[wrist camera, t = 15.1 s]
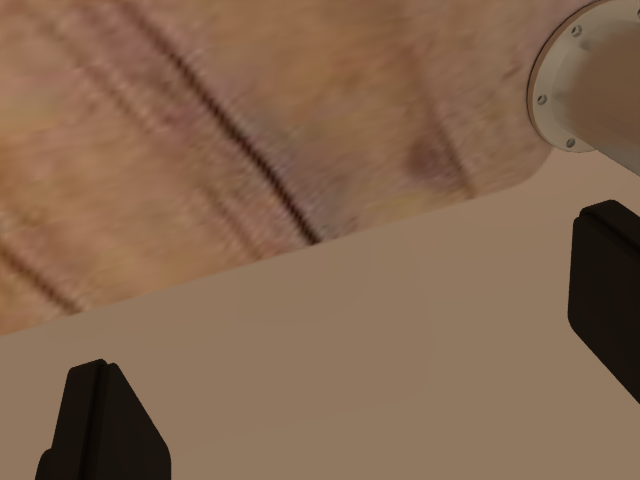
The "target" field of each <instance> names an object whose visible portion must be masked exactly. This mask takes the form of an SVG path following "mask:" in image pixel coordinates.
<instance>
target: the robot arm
mask: <svg viewBox="0 0 640 480" xmlns="http://www.w3.org/2000/svg"><path fill="white" fill-rule="evenodd" d="M527 103H528V110H529V116H530V119H531V121H532V124H533V126H534V128H535V129H536V131H537V132H538V134H539V135H540V136H541V137H542V138H544V139H545V140H546V141H547V142H548V143H550V144H552V145H553V146H555V147H557V148H558V149H561V150H564V151H567V152H578V153H581V152H589V151H593V150H598V151H599V152H601V153H603V154H605V155H606V156H608V157H609V158H611V159H612V160H614V161H616V162H617V163H619V164H620V165H622V166H624V167H625V168H627V169H629V170H630V171H632V172H634V173H635V174H637V175H638V176H640V0H600V1H597V2H595V3H593V4H591V5H589V6H586V7H584V8H582V9H581V10H580V11H578V12H577V13H575V14H574V15H573V16H571V17H570V18H569V19H568V20H567V21H565V22H564V23H563V24H562V25H561V26H560V27H559V28H558V29H557V30H556V31H555V33H554V34H553V35H552V37H551V38H550V39H549V40H548V42H547V43H546V44H545V46H544V48H543V50H542V51H541V53H540V55H539V57H538V58H537V61H536V63H535V66H534V68H533V71H532V73H531V78H530V82H529V87H528V100H527ZM568 320H569V323H570V325H571V327H572V329H573V330H574V332H575V333H576V334H577V335H578V336H579V337H580V338H581V340H582V341H583V342H584V343H585V344H586V345H587V346H588V347H589V349H590V350H591V351H592V352H593V353H594V354H595V355H596V356H597V357H598V358H599V360H600V361H601V362H602V363H603V364H604V365H605V366H606V367H607V368H608V369H609V371H610V372H611V373H612V374H613V375H614V376H615V377H616V378H617V380H618V381H619V382H620V383H621V384H622V385H623V386H624V387H625V388H626V390H627V391H628V392H629V393H630V394H631V395H632V396H633V397H634V398H635V400H636V401H637V402H638V403H639V404H640V217H639V216H637V215H636V214H635V213H633V212H632V211H630V210H629V209H628V208H626V207H625V206H623V205H622V204H620V203H619V202H617V201H615V200H607V201H604V202H601V203H598V204H594V205H591V206H588V207H585V208H583V209H582V210H581V211H580V214H579V217H577V218H576V219H575V220H574V223H573V235H572V252H571V267H570V283H569V300H568ZM35 480H171V458H170V453H169V450H168V447H167V445H166V443H165V442H164V440H163V438H162V437H161V435H160V433H159V432H158V430H157V429H156V427H155V426H154V424H153V423H152V420H151V419H150V417H149V415H148V414H147V412H146V411H145V409H144V407H143V406H142V404H141V402H140V401H139V399H138V398H137V396H136V394H135V393H134V391H133V389H132V388H131V386H130V385H129V383H128V381H127V380H126V378H125V376H124V375H123V373H122V372H121V370H120V368H119V367H118V365H117V364H115V363H111V364H107V363H106V361H105V360H103V359H98V360H95V361H92V362H88V363H85V364H82V365H79V366H76V367H72V368H71V369H70V370H69V372H68V375H67V380H66V384H65V388H64V393H63V397H62V402H61V406H60V411H59V415H58V420H57V425H56V429H55V434H54V439H53V443H52V447H51V449H48V450H46V451H45V452H44V453H43V454H42V456H41V458H40V461H39V464H38V468H37V472H36V476H35Z"/></svg>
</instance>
